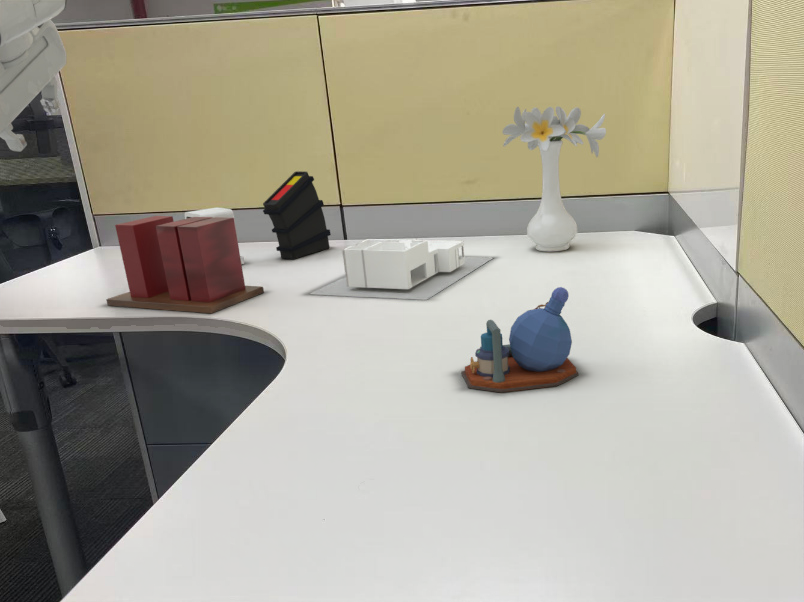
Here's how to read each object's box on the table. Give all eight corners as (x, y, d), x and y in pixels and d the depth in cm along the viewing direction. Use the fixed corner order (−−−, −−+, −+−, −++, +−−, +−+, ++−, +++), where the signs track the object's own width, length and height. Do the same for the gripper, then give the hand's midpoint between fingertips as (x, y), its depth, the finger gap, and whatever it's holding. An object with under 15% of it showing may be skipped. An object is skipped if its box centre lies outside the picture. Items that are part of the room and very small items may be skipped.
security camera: (193, 267, 147) (183, 212, 143) (229, 260, 151) (219, 206, 148) (210, 271, 142) (200, 214, 139) (246, 264, 147) (237, 208, 144)
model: (561, 355, 92) (560, 275, 88) (586, 382, 83) (585, 295, 80) (457, 367, 89) (452, 285, 86) (472, 396, 81) (466, 307, 78)
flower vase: (616, 248, 146) (616, 102, 137) (520, 259, 140) (514, 108, 131) (586, 236, 157) (584, 101, 148) (496, 246, 152) (489, 106, 143)
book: (148, 298, 122) (132, 225, 118) (130, 296, 123) (114, 224, 119) (186, 285, 129) (172, 216, 125) (169, 284, 130) (155, 215, 126)
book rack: (211, 313, 116) (196, 230, 111) (107, 305, 123) (89, 226, 118) (264, 292, 126) (251, 215, 122) (165, 286, 133) (150, 213, 129)
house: (431, 297, 117) (428, 256, 115) (321, 291, 123) (316, 253, 121) (485, 263, 137) (483, 227, 135) (388, 260, 143) (385, 226, 140)
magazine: (341, 236, 160) (310, 170, 149) (304, 278, 152) (269, 211, 142) (326, 235, 161) (294, 170, 151) (289, 277, 154) (253, 211, 143)
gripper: (-32, 77, 95) (20, 175, 105) (53, -3, 107) (91, 92, 118) (-83, 72, 95) (-26, 170, 106) (8, -7, 108) (50, 87, 119)
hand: (36, 128), depth 112 cm, fingers open, 8 cm apart
